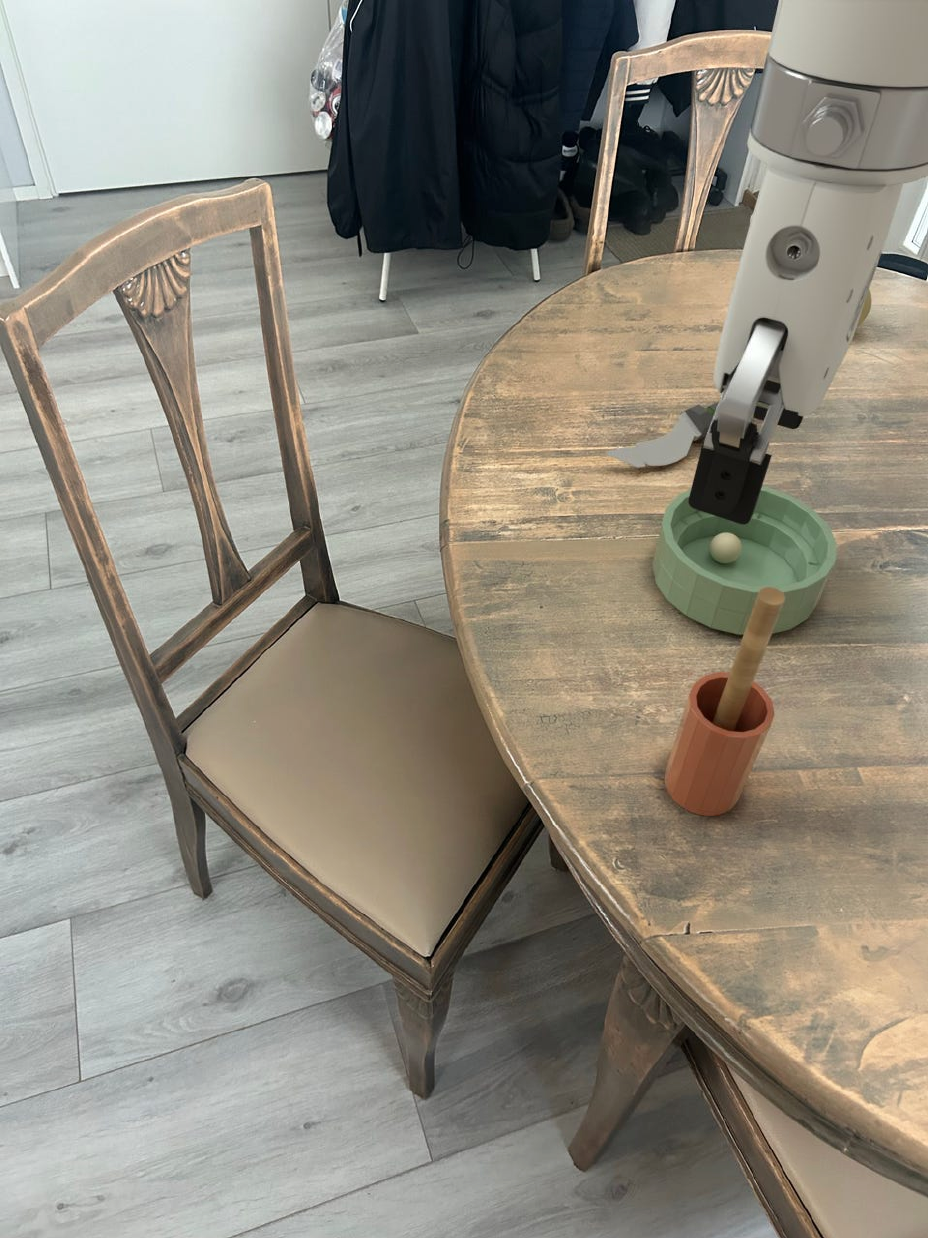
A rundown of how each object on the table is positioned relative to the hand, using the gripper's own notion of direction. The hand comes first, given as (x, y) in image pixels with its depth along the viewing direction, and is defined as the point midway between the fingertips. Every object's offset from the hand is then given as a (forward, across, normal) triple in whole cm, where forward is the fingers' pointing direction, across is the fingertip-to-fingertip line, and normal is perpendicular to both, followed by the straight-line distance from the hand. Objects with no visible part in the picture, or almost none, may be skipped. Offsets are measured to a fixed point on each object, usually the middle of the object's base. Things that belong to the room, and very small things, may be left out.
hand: (746, 464), depth 48 cm
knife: (+30, +45, +13) cm, 55 cm away
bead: (+28, +27, +3) cm, 39 cm away
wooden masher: (+29, +1, -4) cm, 30 cm away
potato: (+30, +81, +5) cm, 86 cm away
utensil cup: (+30, +1, -4) cm, 30 cm away
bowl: (+30, +25, +1) cm, 39 cm away
